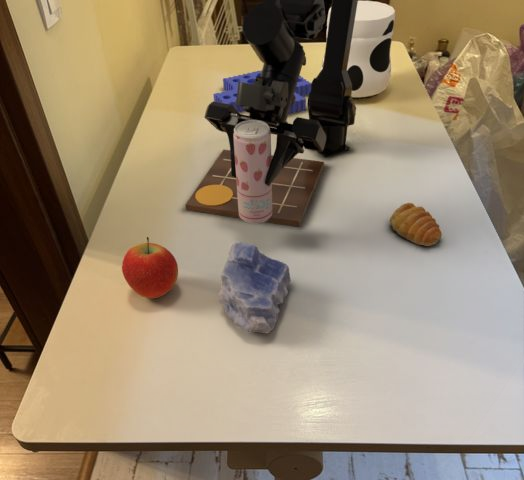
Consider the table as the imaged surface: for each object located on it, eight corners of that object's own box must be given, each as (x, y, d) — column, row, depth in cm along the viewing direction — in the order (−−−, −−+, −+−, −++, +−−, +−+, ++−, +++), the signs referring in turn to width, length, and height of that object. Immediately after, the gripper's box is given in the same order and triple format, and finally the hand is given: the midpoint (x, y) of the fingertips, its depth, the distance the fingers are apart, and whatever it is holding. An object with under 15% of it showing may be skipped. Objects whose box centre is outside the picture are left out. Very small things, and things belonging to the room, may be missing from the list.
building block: (223, 126, 121) (222, 115, 119) (206, 86, 137) (205, 76, 135) (325, 112, 124) (326, 102, 123) (297, 75, 140) (297, 65, 138)
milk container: (305, 89, 134) (308, 8, 121) (355, 72, 141) (363, -6, 127) (351, 112, 125) (359, 27, 111) (402, 93, 131) (416, 11, 118)
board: (223, 154, 112) (223, 148, 111) (323, 166, 108) (324, 160, 106) (186, 210, 98) (185, 203, 97) (299, 227, 94) (299, 220, 92)
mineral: (224, 230, 78) (290, 232, 76) (234, 274, 85) (294, 277, 84) (201, 302, 70) (274, 307, 68) (214, 344, 77) (280, 349, 75)
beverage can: (242, 227, 85) (236, 139, 74) (235, 208, 89) (229, 121, 78) (276, 221, 86) (275, 134, 75) (267, 202, 90) (265, 116, 78)
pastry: (449, 240, 90) (454, 221, 87) (420, 253, 88) (424, 235, 85) (412, 214, 95) (416, 196, 92) (383, 226, 93) (387, 208, 90)
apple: (119, 294, 82) (103, 243, 75) (157, 269, 86) (145, 217, 79) (153, 317, 79) (140, 265, 71) (191, 289, 83) (182, 237, 75)
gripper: (203, 44, 75) (174, 152, 77) (324, 62, 69) (290, 178, 71) (232, 80, 85) (206, 174, 87) (339, 99, 80) (309, 199, 81)
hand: (249, 180), depth 81 cm, fingers closed on beverage can, 5 cm apart
